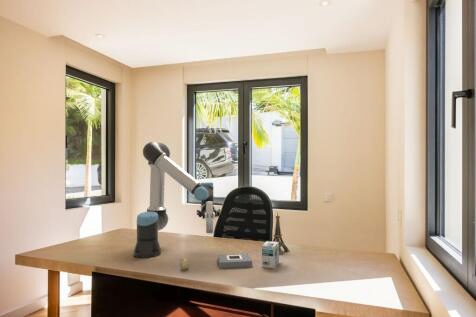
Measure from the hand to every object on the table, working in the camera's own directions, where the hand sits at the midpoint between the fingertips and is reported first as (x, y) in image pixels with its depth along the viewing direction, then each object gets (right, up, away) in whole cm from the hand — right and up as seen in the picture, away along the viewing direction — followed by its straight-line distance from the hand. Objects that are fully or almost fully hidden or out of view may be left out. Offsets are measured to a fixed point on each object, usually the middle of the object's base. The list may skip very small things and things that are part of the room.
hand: (210, 216), depth 159 cm
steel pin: (-1, -9, +5) cm, 10 cm away
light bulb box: (+31, -25, +2) cm, 40 cm away
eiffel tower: (+37, -26, +26) cm, 52 cm away
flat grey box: (+12, -25, +4) cm, 28 cm away
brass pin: (-12, -25, -5) cm, 28 cm away
